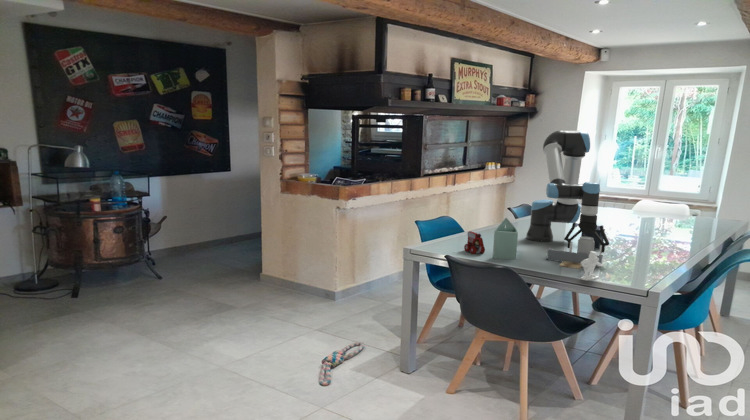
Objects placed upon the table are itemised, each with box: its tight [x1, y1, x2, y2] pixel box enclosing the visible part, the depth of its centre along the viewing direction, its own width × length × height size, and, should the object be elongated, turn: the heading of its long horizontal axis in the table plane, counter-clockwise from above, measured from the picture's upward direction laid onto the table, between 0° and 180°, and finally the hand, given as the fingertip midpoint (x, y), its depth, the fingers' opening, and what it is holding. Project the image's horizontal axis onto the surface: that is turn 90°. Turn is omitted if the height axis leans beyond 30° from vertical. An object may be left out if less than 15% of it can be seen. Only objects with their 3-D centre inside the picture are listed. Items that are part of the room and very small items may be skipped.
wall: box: [546, 247, 604, 268], centre depth 238 cm, size 24×4×5 cm, turn 59°
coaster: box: [559, 261, 583, 270], centre depth 232 cm, size 9×9×1 cm
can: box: [576, 236, 595, 254], centre depth 240 cm, size 8×8×12 cm
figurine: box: [580, 250, 606, 281], centre depth 210 cm, size 9×7×12 cm
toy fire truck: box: [463, 230, 486, 255], centre depth 253 cm, size 7×12×10 cm, turn 24°
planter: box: [492, 217, 519, 260], centre depth 244 cm, size 16×8×20 cm, turn 126°
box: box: [580, 228, 606, 250], centre depth 273 cm, size 11×7×10 cm, turn 47°
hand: (584, 256), depth 240 cm, fingers open, 13 cm apart
